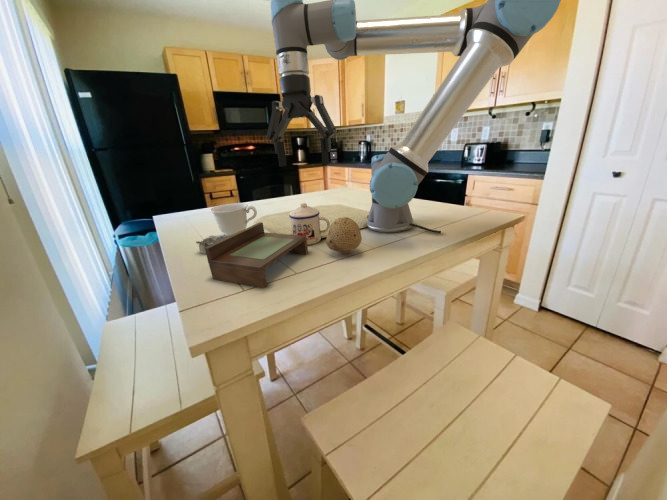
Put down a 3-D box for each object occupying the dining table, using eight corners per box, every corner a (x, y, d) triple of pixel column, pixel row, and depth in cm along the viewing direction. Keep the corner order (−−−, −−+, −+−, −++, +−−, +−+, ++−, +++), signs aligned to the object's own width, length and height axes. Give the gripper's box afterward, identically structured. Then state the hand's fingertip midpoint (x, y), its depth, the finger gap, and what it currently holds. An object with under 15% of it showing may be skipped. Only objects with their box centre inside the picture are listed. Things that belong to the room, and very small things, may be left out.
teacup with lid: (288, 245, 81) (283, 207, 77) (297, 235, 89) (293, 200, 85) (328, 245, 79) (324, 206, 75) (333, 235, 87) (330, 199, 83)
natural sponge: (369, 252, 72) (369, 216, 68) (345, 263, 67) (343, 225, 63) (346, 244, 79) (344, 211, 75) (322, 254, 73) (319, 218, 70)
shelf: (308, 252, 75) (304, 225, 72) (264, 288, 59) (257, 254, 55) (264, 247, 81) (259, 222, 78) (212, 278, 64) (204, 247, 61)
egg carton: (197, 255, 80) (193, 242, 78) (208, 245, 87) (204, 233, 85) (233, 252, 79) (230, 239, 78) (241, 243, 86) (238, 230, 85)
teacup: (255, 239, 88) (250, 209, 85) (210, 242, 89) (203, 212, 85) (264, 228, 100) (260, 201, 96) (224, 230, 100) (218, 204, 96)
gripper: (244, 81, 69) (259, 168, 77) (334, 64, 59) (340, 165, 68) (262, 85, 75) (274, 165, 83) (346, 70, 66) (350, 162, 74)
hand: (303, 165), depth 76 cm, fingers open, 13 cm apart
